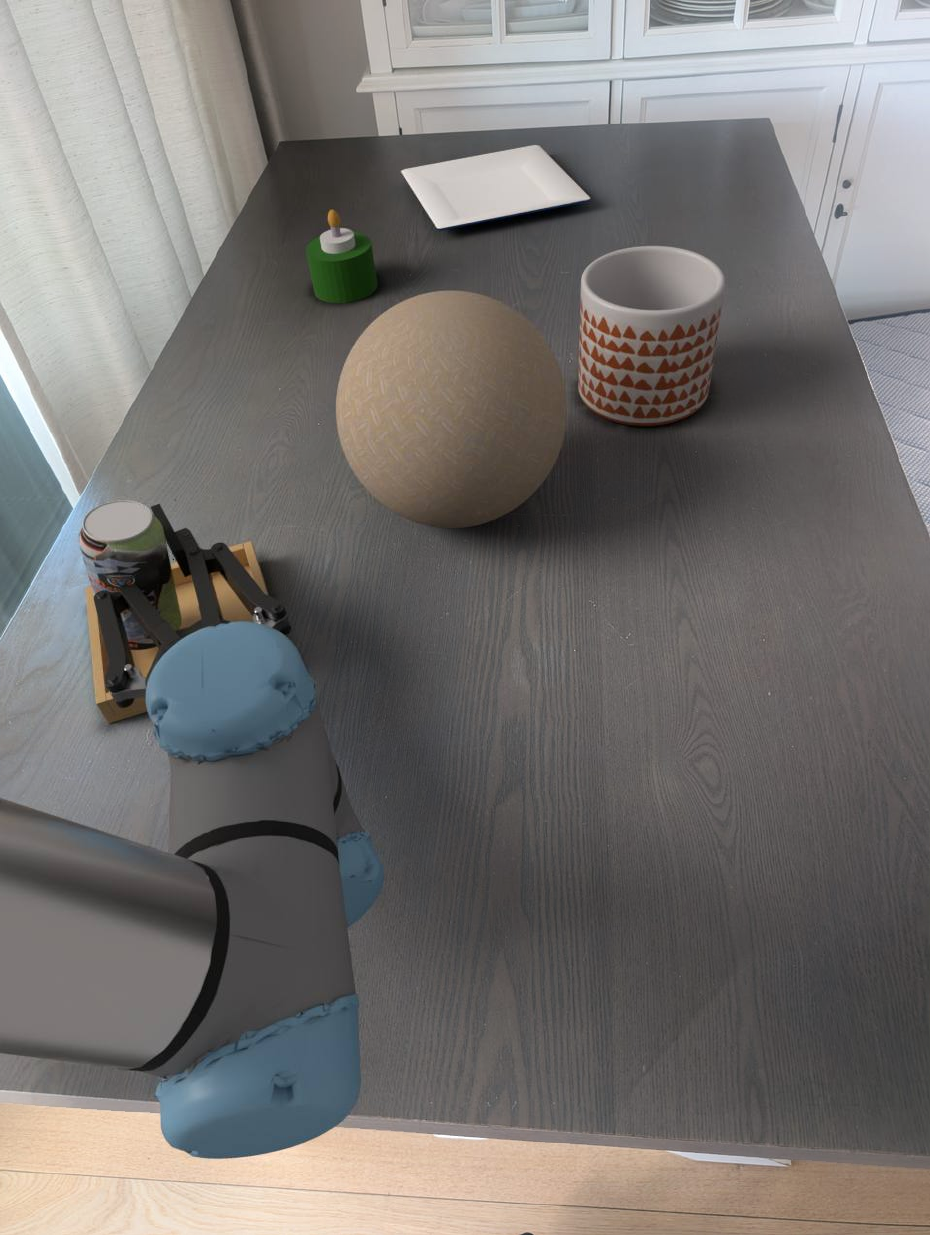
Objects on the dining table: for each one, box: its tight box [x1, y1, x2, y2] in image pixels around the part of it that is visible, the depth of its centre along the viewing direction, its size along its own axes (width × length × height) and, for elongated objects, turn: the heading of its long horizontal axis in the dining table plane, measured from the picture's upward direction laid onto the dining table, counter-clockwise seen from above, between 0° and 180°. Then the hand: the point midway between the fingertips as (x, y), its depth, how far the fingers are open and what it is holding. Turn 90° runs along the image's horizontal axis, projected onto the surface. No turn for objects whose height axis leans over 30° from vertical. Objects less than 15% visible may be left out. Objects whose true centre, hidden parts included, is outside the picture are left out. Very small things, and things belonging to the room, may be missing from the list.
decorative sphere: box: [335, 290, 568, 529], centre depth 78 cm, size 20×20×20 cm
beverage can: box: [78, 499, 182, 650], centre depth 70 cm, size 6×7×12 cm
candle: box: [305, 209, 378, 304], centre depth 113 cm, size 8×8×10 cm
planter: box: [578, 245, 726, 427], centre depth 91 cm, size 14×14×13 cm
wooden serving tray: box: [84, 540, 270, 724], centre depth 75 cm, size 15×14×3 cm
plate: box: [400, 144, 591, 231], centre depth 132 cm, size 22×22×2 cm
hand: (138, 526), depth 73 cm, fingers closed on beverage can, 3 cm apart
